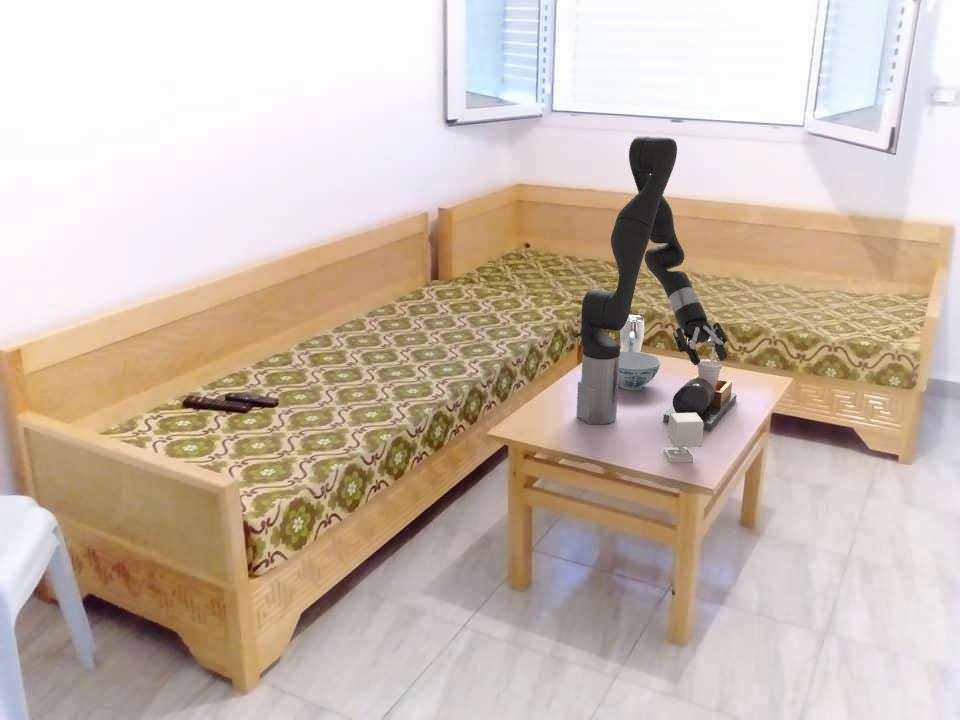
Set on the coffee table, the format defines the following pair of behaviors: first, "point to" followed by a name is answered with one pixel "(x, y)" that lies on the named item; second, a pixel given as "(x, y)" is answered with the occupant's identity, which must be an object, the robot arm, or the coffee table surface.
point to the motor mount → (703, 400)
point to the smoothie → (709, 370)
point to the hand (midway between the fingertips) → (710, 361)
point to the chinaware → (636, 369)
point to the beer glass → (632, 334)
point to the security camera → (683, 436)
